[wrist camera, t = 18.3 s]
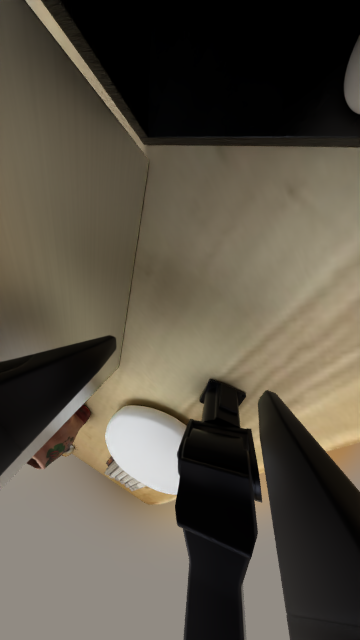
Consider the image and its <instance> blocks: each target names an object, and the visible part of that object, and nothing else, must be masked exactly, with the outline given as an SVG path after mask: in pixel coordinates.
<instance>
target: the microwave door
mask: <svg viewBox="0 0 360 640" xmlns="http://www.w3.org/2000/svg"><path fill="white" fill-rule="evenodd" d="M148 165H149V159H148V158H147V157H146V155H145V154H144V153H143V151H142V150H141V149H140V148H139V146H138V145H137V144H136V142H135V141H134V140H133V139H132V137H131V136H130V135H129V133H128V132H127V131H126V130H125V128H124V127H123V126H122V124H121V123H120V122H119V121H118V119H117V118H116V117H115V115H114V114H113V113H112V112H111V110H110V109H109V108H108V106H107V105H106V104H105V103H104V101H103V100H102V99H101V97H100V96H99V95H98V94H97V92H96V91H95V90H94V88H93V87H92V86H91V85H90V83H89V82H88V81H87V79H86V78H85V77H84V76H83V74H82V73H81V72H80V70H79V69H78V68H77V67H76V65H75V64H74V63H73V61H72V60H71V59H70V58H69V56H68V55H67V54H66V52H65V51H64V50H63V49H62V47H61V46H60V45H59V43H58V42H57V41H56V40H55V38H54V37H53V36H52V34H51V33H50V32H49V31H48V29H47V28H46V27H45V25H44V24H43V23H42V22H41V20H40V19H39V18H38V16H37V15H36V14H35V13H34V11H33V10H32V9H31V7H30V6H29V5H28V4H27V2H26V1H25V0H0V362H2V361H6V360H10V359H15V358H19V357H23V356H27V355H31V354H35V353H39V352H43V351H47V350H51V349H55V348H59V347H63V346H67V345H71V344H75V343H79V342H83V341H87V340H91V339H95V338H99V337H103V336H107V335H112V336H114V337H116V343H117V348H116V350H115V352H114V353H113V354H112V356H111V357H110V358H109V359H108V361H107V362H106V363H105V365H104V366H103V367H102V368H101V370H100V371H99V372H98V373H97V374H96V375H95V376H94V377H93V378H92V379H91V380H90V381H89V383H88V384H87V385H86V386H85V387H84V388H83V389H82V390H81V391H80V392H79V393H78V394H77V395H76V396H75V397H74V398H73V399H72V401H71V402H70V403H69V404H68V405H67V406H66V407H65V408H64V409H63V410H62V411H61V412H60V413H59V414H58V415H57V416H56V417H55V419H54V420H53V421H52V422H51V423H50V424H49V425H48V426H47V427H46V428H45V429H44V430H43V431H42V432H41V433H40V434H39V435H38V437H37V438H36V439H35V440H34V441H33V442H32V443H31V444H30V445H29V446H28V447H27V448H26V449H25V450H24V451H23V452H22V454H21V455H20V456H19V457H18V458H17V459H16V460H15V461H14V462H13V463H12V464H11V465H10V466H9V467H8V468H7V470H6V471H5V472H4V473H3V474H2V475H1V476H0V490H1V489H2V488H3V486H5V484H6V483H7V482H8V481H9V480H10V479H11V478H12V477H13V476H14V475H15V474H16V473H17V472H18V471H19V470H20V469H21V468H22V467H23V466H24V465H25V464H26V463H27V462H28V461H29V460H30V459H31V458H32V457H33V456H34V454H35V453H36V452H37V451H38V450H39V449H40V448H41V447H42V446H43V445H44V444H45V443H46V442H47V441H48V440H49V439H50V438H51V437H52V436H53V435H54V434H55V433H56V432H57V431H58V430H59V429H60V428H61V427H62V425H63V424H64V423H65V422H66V421H67V420H68V419H69V418H70V417H71V416H72V415H73V414H74V413H75V412H76V411H77V410H78V409H79V408H80V407H81V406H82V405H83V404H84V403H85V402H86V401H87V400H88V399H89V398H90V396H91V395H92V394H93V393H94V392H95V391H96V390H97V389H98V388H99V387H100V386H101V385H102V384H103V383H104V382H105V381H106V380H107V379H108V378H109V377H110V376H111V375H112V374H113V373H114V372H115V371H116V370H117V369H118V367H119V362H120V355H121V349H122V342H123V335H124V328H125V321H126V315H127V308H128V301H129V294H130V287H131V281H132V274H133V267H134V260H135V253H136V247H137V240H138V233H139V226H140V219H141V213H142V206H143V199H144V192H145V185H146V179H147V172H148Z"/></svg>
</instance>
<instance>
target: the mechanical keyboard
mask: <svg viewBox="0 0 360 640" xmlns="http://www.w3.org/2000/svg"><path fill="white" fill-rule="evenodd" d="M106 464H107V465H108V468H107V469H106V471H105V474H106V475H109V474H110V476H109V477H111V478H114V477H115V480H117V481H119V480H120V482H121V483H122V484H124V483H125V486H126V487H127V488H128V487H129V488H130V490H131V491H134V490H137V489H139V488H143V487H145V486H146V485H144V484H143V483H141V482H139V481H138V480H136V479H135V478H133V477H131V476H130V475H129V474H128V473H126V472H125V471H124V470H123V469H122V468H121V467H120V466H119V465H118V464H117V463H116V462H115V460H114V459H113V457H111V458H110V459H109V460H108V461H107V463H106Z"/></svg>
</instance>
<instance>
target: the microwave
mask: <svg viewBox="0 0 360 640" xmlns="http://www.w3.org/2000/svg"><path fill="white" fill-rule="evenodd" d="M41 1H42V2H43V4H44V5H45V7H46V8H47V9H48V11H49V12H50V14H51V15H52V16H53V18H54V19H55V21H56V22H57V23H58V25H59V26H60V28H61V29H62V30H63V32H64V33H65V35H66V36H67V37H68V39H69V40H70V42H71V43H72V44H73V46H74V47H75V49H76V50H77V51H78V53H79V54H80V56H81V57H82V58H83V60H84V61H85V63H86V64H87V65H88V67H89V68H90V69H91V71H92V72H93V74H94V75H95V76H96V78H97V79H98V81H99V82H100V83H101V85H102V86H103V88H104V89H105V90H106V92H107V93H108V95H109V96H110V97H111V99H112V100H113V102H114V103H115V104H116V106H117V107H118V109H119V110H120V111H121V113H122V114H123V116H124V117H125V118H126V120H127V121H128V123H129V124H130V125H131V127H132V128H133V130H134V131H135V132H136V134H137V135H138V137H139V138H140V140H141V141H142V142H143V144H149V145H241V146H334V147H360V115H359V114H357V113H355V112H353V111H352V110H351V109H350V108H349V106H348V105H347V103H346V100H345V96H344V78H345V72H346V68H347V64H348V61H349V58H350V56H351V53H352V50H353V48H354V46H355V44H356V41H357V39H358V37H359V35H360V0H41Z"/></svg>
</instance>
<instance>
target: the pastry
mask: <svg viewBox="0 0 360 640" xmlns="http://www.w3.org/2000/svg"><path fill="white" fill-rule="evenodd" d="M73 451H74V446H73V445H71V446H70V447H69V449H68V450H67V451H66V452H65V453H64V454H62V456H65V457H66V456H69V455H70V454H71V453H72V452H73Z"/></svg>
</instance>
